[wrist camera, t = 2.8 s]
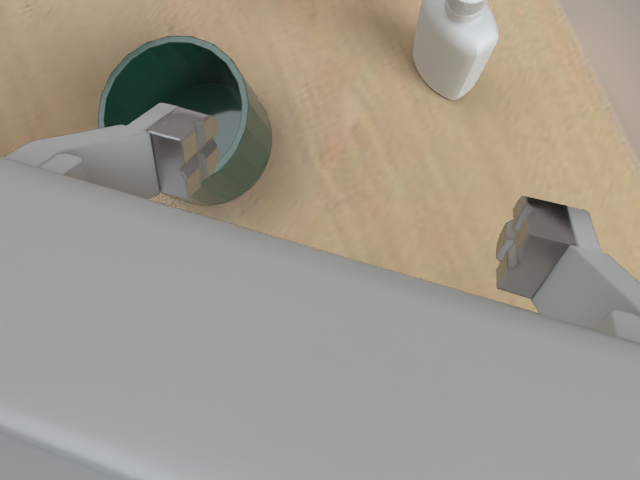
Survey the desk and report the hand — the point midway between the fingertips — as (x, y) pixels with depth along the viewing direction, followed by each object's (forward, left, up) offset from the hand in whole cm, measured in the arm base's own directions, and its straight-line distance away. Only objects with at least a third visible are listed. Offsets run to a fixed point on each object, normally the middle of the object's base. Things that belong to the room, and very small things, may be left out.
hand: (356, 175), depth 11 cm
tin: (+7, +14, -23) cm, 28 cm away
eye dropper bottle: (+14, -5, -24) cm, 28 cm away
